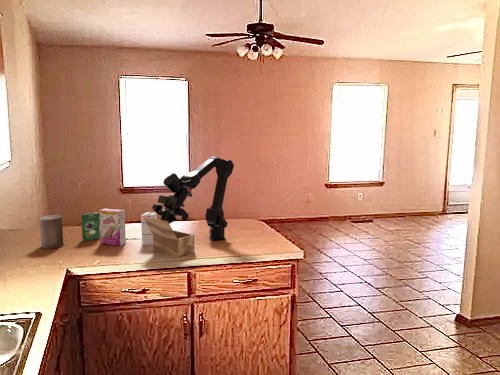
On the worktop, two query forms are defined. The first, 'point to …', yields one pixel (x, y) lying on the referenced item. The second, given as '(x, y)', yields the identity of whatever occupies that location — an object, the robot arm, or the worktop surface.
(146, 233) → the syrup box
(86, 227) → the coffee box
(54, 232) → the pillar candle
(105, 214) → the candy bar box
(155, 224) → the flap
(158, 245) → the light wood open box
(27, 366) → the worktop surface
